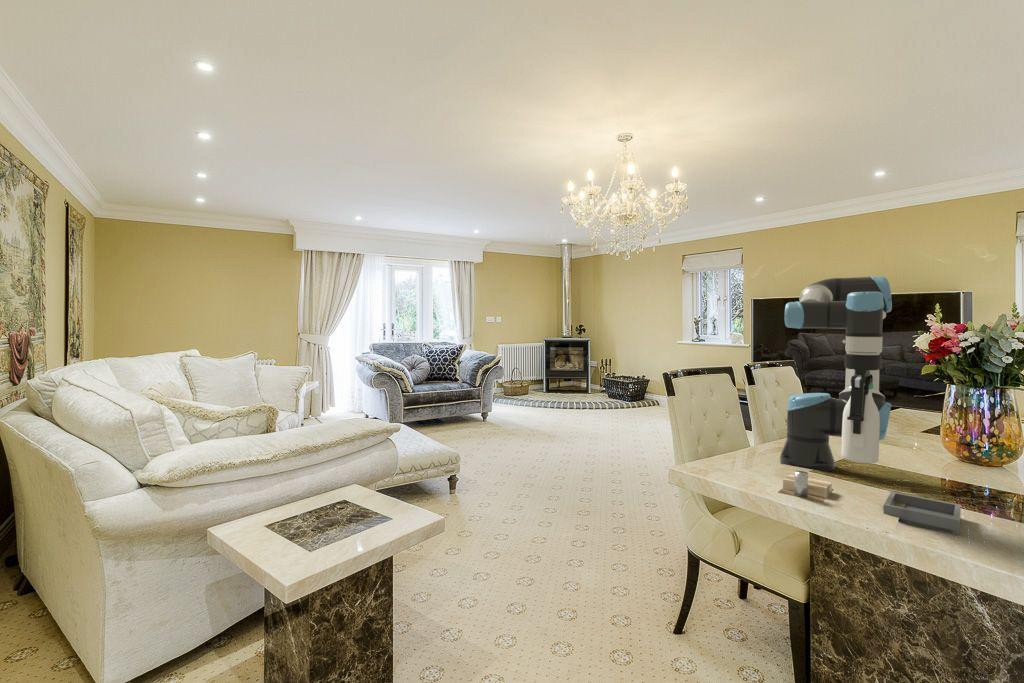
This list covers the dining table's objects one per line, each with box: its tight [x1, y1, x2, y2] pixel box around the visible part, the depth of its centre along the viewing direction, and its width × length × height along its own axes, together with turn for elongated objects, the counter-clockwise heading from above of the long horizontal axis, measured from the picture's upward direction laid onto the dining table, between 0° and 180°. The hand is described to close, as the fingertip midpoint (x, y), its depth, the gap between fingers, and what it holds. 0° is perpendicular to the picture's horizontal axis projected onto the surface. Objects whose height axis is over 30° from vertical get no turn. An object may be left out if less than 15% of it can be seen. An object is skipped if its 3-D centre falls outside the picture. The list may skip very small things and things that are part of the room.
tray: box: [882, 491, 962, 536], centre depth 114 cm, size 13×13×3 cm
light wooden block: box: [782, 474, 833, 499], centre depth 129 cm, size 6×10×2 cm, turn 46°
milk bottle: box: [840, 382, 880, 464], centre depth 123 cm, size 8×8×20 cm
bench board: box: [777, 487, 835, 503], centre depth 129 cm, size 14×10×1 cm
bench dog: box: [794, 470, 809, 499], centre depth 125 cm, size 3×3×6 cm
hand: (859, 443), depth 123 cm, fingers closed on milk bottle, 7 cm apart
